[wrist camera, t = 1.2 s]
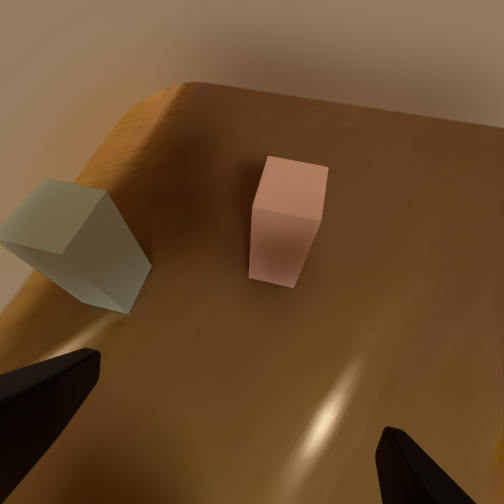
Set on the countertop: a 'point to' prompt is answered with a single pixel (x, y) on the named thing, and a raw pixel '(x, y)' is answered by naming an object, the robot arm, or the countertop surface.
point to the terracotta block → (285, 219)
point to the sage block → (78, 244)
